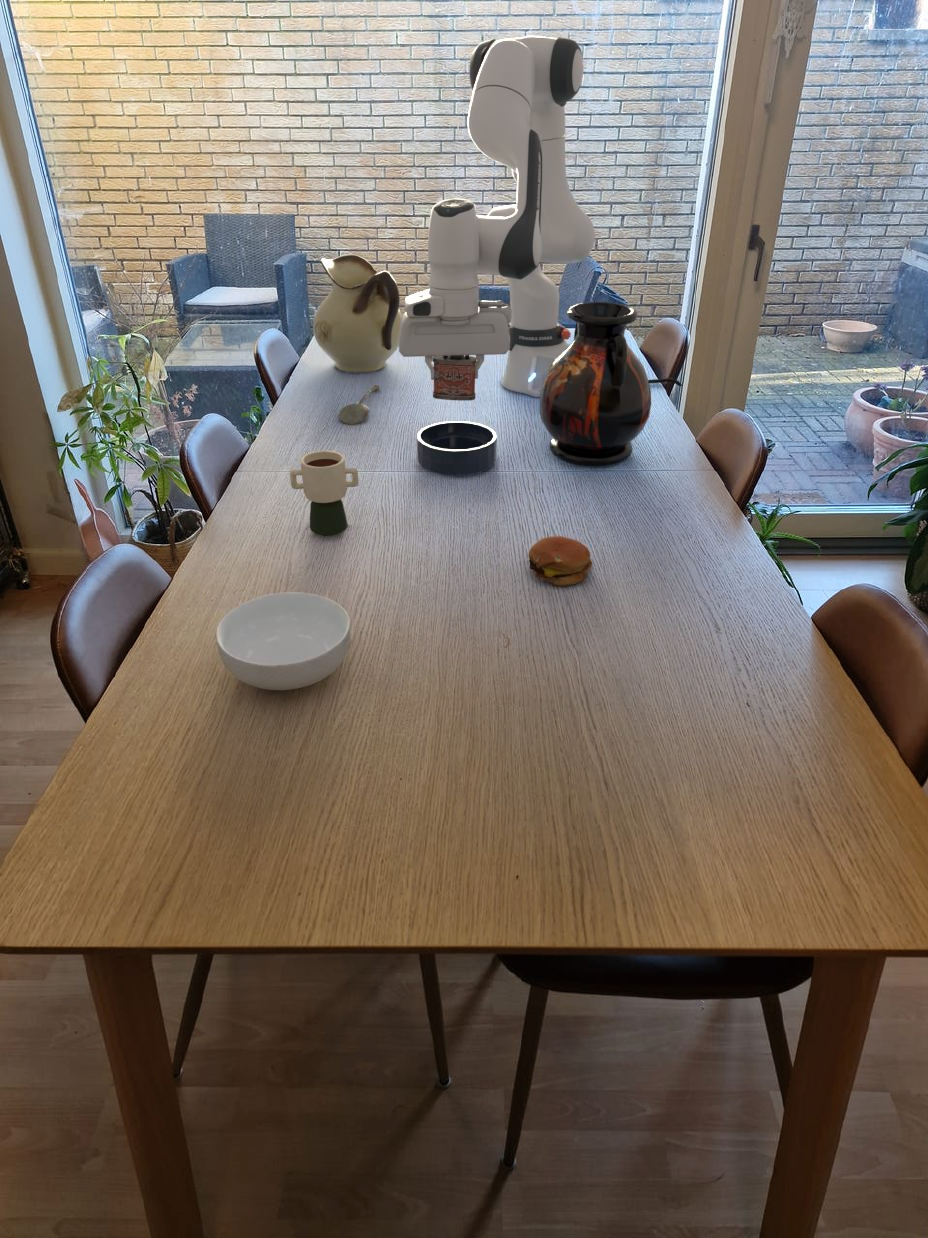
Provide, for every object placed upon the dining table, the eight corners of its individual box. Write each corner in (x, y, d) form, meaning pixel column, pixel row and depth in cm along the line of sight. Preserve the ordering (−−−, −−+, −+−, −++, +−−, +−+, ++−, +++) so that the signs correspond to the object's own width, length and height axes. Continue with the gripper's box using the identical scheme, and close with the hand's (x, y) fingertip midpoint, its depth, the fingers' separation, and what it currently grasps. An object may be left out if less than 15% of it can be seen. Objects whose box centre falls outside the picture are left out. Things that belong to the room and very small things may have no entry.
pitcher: (330, 350, 235) (322, 250, 221) (417, 355, 232) (415, 253, 218) (305, 377, 216) (295, 269, 202) (400, 382, 213) (396, 273, 200)
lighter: (476, 395, 167) (477, 342, 162) (474, 401, 165) (476, 347, 159) (434, 393, 168) (434, 340, 163) (431, 399, 165) (431, 345, 160)
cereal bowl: (294, 727, 106) (288, 680, 102) (195, 682, 113) (186, 637, 109) (379, 657, 118) (376, 613, 114) (284, 621, 125) (279, 578, 122)
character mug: (361, 520, 152) (357, 449, 145) (361, 539, 146) (356, 466, 139) (297, 522, 151) (289, 451, 144) (294, 542, 145) (286, 468, 138)
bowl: (490, 445, 180) (491, 420, 177) (500, 476, 167) (501, 449, 164) (416, 448, 179) (415, 422, 176) (420, 479, 166) (419, 452, 163)
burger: (579, 554, 142) (581, 528, 139) (598, 583, 134) (600, 556, 132) (520, 560, 140) (521, 534, 138) (535, 590, 133) (536, 563, 130)
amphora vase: (520, 440, 183) (526, 299, 167) (615, 428, 188) (628, 291, 173) (562, 481, 165) (572, 329, 150) (664, 467, 171) (684, 319, 156)
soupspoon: (334, 425, 191) (364, 429, 190) (334, 411, 189) (363, 414, 188) (363, 389, 208) (390, 392, 208) (363, 375, 206) (390, 378, 206)
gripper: (509, 295, 160) (507, 371, 168) (396, 298, 159) (399, 374, 166) (514, 304, 155) (511, 382, 163) (397, 306, 153) (400, 385, 161)
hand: (454, 378), depth 164 cm, fingers closed on lighter, 6 cm apart
